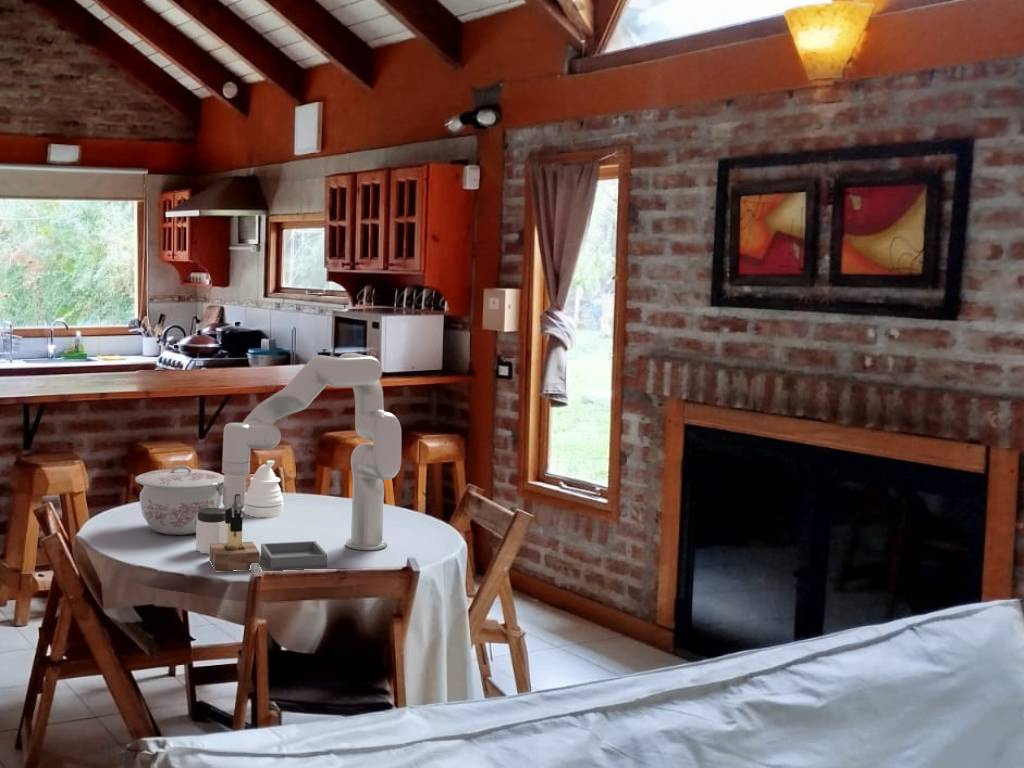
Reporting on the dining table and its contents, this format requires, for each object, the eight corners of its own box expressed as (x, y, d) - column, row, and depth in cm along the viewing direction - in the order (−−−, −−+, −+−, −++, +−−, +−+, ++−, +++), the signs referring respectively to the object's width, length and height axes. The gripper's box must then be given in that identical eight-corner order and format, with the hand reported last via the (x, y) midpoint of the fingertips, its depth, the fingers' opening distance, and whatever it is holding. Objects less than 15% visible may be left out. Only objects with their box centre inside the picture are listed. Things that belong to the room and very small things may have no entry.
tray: (260, 555, 337) (261, 543, 337) (315, 552, 343) (315, 541, 343) (270, 570, 323) (270, 558, 322) (327, 567, 329) (327, 555, 328)
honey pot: (287, 510, 396) (289, 458, 394) (276, 518, 383) (277, 465, 381) (251, 507, 397) (252, 456, 395) (238, 516, 384) (240, 462, 382)
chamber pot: (114, 531, 356) (115, 465, 353) (179, 515, 380) (180, 454, 378) (183, 546, 343) (184, 477, 341) (245, 529, 367) (246, 465, 365)
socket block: (209, 560, 329) (209, 543, 328) (252, 558, 333) (252, 541, 333) (215, 572, 318) (215, 554, 317) (259, 569, 322) (259, 552, 322)
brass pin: (225, 563, 327) (226, 522, 325) (240, 563, 328) (241, 521, 327) (227, 567, 323) (228, 525, 322) (242, 566, 325) (243, 525, 323)
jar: (209, 545, 345) (209, 506, 344) (232, 549, 343) (233, 509, 341) (190, 552, 337) (191, 511, 336) (213, 556, 334) (214, 515, 333)
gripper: (217, 461, 329) (215, 520, 331) (226, 473, 313) (224, 535, 315) (244, 461, 332) (242, 520, 333) (254, 473, 316) (252, 534, 318)
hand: (233, 527), depth 324 cm, fingers open, 9 cm apart
